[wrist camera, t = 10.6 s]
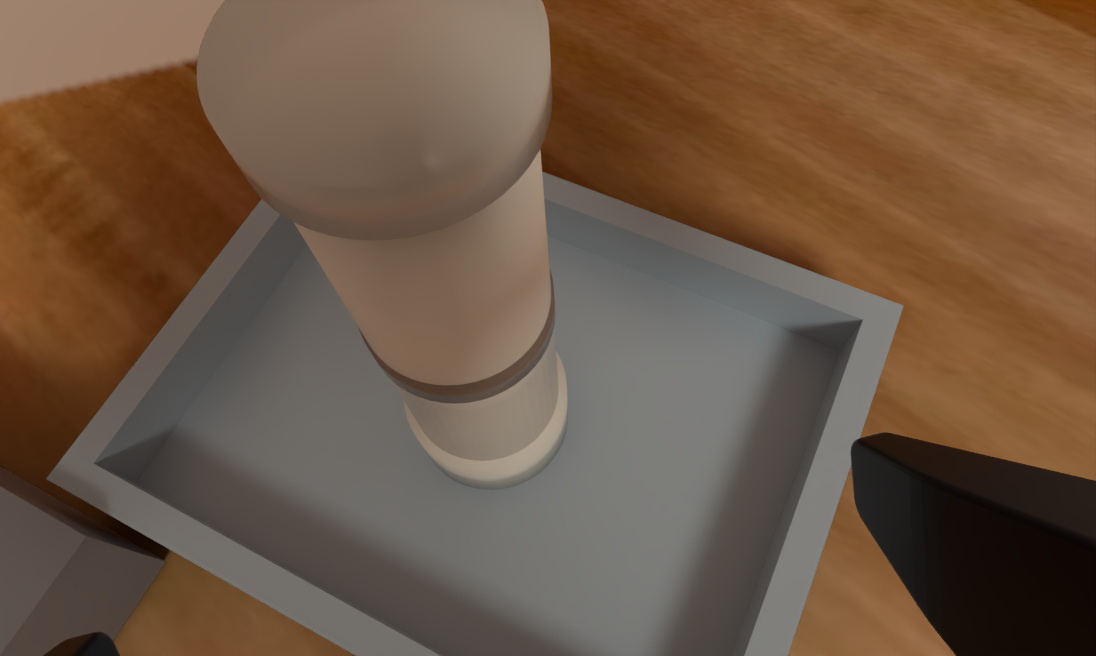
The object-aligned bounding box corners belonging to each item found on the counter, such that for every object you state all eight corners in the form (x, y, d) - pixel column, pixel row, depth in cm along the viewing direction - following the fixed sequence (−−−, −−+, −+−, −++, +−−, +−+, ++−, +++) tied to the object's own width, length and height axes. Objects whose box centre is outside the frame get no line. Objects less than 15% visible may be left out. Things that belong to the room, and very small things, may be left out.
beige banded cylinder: (598, 428, 20) (622, 61, 8) (475, 521, 19) (305, 257, 7) (510, 321, 22) (423, -120, 10) (391, 403, 21) (139, 26, 9)
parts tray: (870, 346, 21) (903, 305, 19) (701, 840, 17) (718, 862, 14) (362, 149, 25) (340, 96, 23) (105, 502, 20) (46, 479, 18)
